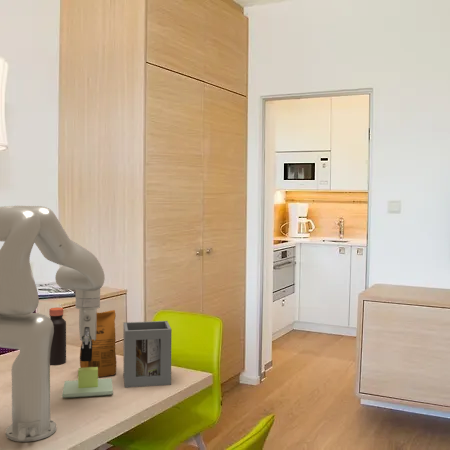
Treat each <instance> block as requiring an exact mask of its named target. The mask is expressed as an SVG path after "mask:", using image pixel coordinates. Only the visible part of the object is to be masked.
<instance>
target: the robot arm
mask: <svg viewBox="0 0 450 450" xmlns="http://www.w3.org/2000/svg"><path fill="white" fill-rule="evenodd" d="M0 242H3V245H1V248H0V348H5V349H11V350H13V349H14V350H18V351H19V353H18V354H17V356H16V357H15V359H14V361H13V363H12V365H11V424H10V425H9V426H7V427H6V429H5V436H6V437H7V439H9V440H11V441H15V442H21V443H23V442H24V443H26V442H34V441H39V440H43V439H46V438H48V437H50V436H52V435H53V434H54V433H56V431H57V423H56V421H55V420H52V419H51V365H50V351H51V344H52V339H53V333H54V326H53V322H52V321H51V319H50V316H47V315H45V314H42V313H38V312H35V311H36V310H37V309H38V307H39V301H40V300H39V293H38V289H37V286H36V282H35V278H34V274H33V271H32V267H31V263H30V261H31V260H30V257H31V253H32V250H33V247H34V245H35V246H36V247H37V249H38V250H39V251H40V253H41V254H42V256H43V257H44V258H45V260H48V261H49V262H52V263H54V264H56V265H60V267H59V268H58V269H57V270H56V272H55V282H56V284H57V286H58V287H59V288H60V289H63V290H64V289H65V290H68V291H69V290H70V291H71V290H72V291H75V307H74V308H75V309H77V310H79V312H78V313H79V314H78V315H79V316H78V328H79V330H78V331H79V339H80V341H81V344H82V348H81V347H80V349H81V361H92V341H91V340H92V339H94V341H95V340H96V331H97V313H98V312H97V311H98V310H97V309H99V308H101V288H102V287H103V286H104V283H105V281H106V279H105V272H104V268H103V266H102V264H101V263H100V261H99V259H98V258H97V257H96V256H95V254H93V253H92V252H91V251H90V250H89V249H87V248H85V247H83V246H82V245H80V244H78V243H77V242H75V241H73V240H72V239H71V238H70V237H69V236H68V234H67V232H66V231H65V229H64V227H63V226H62V224H61V222H60V221H59V219H58V217H57V216H56V214H55V213H54V211H53V210H52V209H50V208H48V207H47V206H41V205H40V206H39V205H8V206H6V205H5V206H0Z"/></svg>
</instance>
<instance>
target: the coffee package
mask: <svg viewBox="0 0 450 450" xmlns="http://www.w3.org/2000/svg"><path fill="white" fill-rule="evenodd" d="M115 322H116V310H115V309H112V310H108V311H103V312H102V311H101V312H97V331H96V340H95V341H94V339H92V340H91V341H92V361H81V348H82V343H81V344H80V351H79V366H80V367H79V368H87V367H98V378H104V377H105V378H106V377H110V376H114V375H116V372H117V355H116V323H115Z"/></svg>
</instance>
